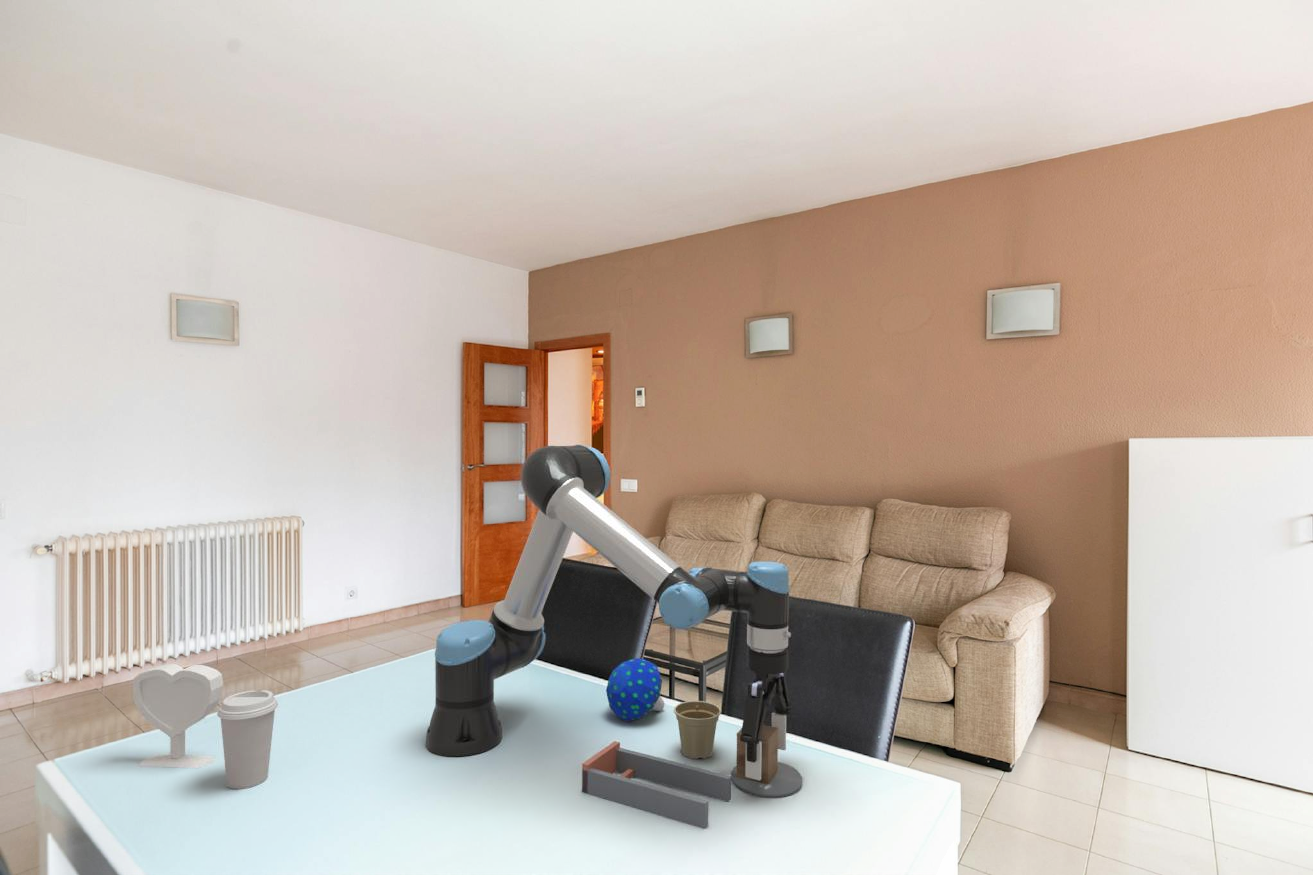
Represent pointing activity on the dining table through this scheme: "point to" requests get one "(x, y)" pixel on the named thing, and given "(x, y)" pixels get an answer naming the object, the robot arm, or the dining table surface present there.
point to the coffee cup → (247, 736)
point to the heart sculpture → (177, 707)
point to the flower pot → (697, 727)
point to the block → (768, 754)
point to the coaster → (771, 783)
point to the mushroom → (635, 689)
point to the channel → (652, 797)
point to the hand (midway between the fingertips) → (766, 762)
